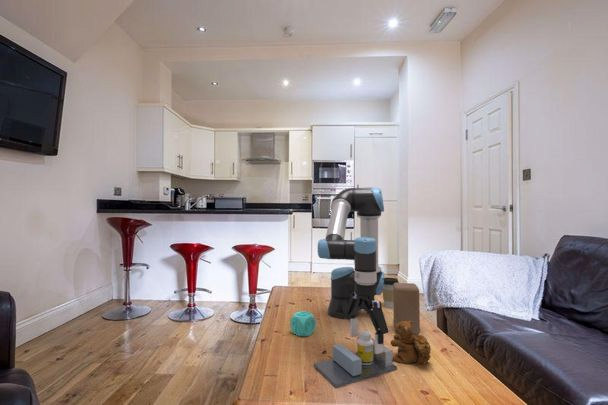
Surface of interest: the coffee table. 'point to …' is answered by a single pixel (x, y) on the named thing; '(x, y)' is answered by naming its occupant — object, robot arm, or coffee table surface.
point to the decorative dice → (302, 323)
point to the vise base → (378, 367)
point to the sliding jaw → (347, 359)
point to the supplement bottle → (365, 348)
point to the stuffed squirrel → (410, 345)
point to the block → (406, 305)
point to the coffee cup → (388, 291)
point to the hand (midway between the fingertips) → (365, 344)
